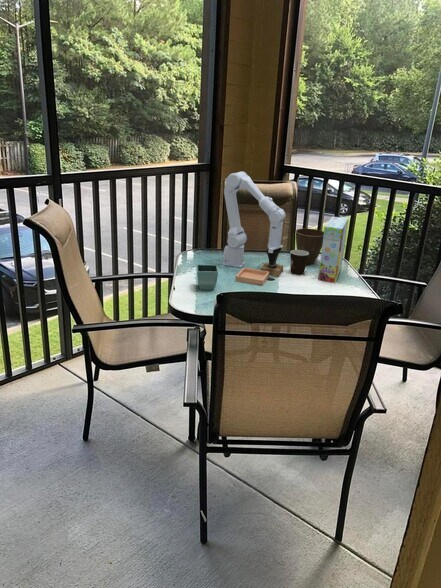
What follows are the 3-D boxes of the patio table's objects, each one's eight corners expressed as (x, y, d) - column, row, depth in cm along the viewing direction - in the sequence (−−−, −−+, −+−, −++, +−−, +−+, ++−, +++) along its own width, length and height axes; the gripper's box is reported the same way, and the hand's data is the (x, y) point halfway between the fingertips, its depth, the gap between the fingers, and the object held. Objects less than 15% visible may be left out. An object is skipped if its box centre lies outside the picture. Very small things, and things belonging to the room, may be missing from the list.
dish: (235, 280, 205) (235, 275, 204) (243, 272, 216) (243, 267, 215) (262, 285, 201) (262, 280, 200) (269, 276, 212) (269, 271, 211)
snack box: (324, 266, 230) (331, 215, 220) (341, 269, 227) (350, 218, 217) (316, 280, 211) (324, 225, 201) (335, 283, 209) (344, 228, 199)
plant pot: (295, 256, 243) (299, 226, 237) (323, 260, 238) (328, 230, 232) (289, 264, 230) (292, 233, 224) (318, 269, 225) (323, 237, 219)
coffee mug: (305, 276, 215) (308, 256, 211) (287, 274, 216) (289, 254, 212) (306, 268, 225) (309, 249, 221) (289, 266, 227) (291, 247, 223)
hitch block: (260, 273, 215) (260, 267, 214) (264, 268, 223) (265, 262, 222) (278, 276, 213) (279, 270, 211) (282, 270, 220) (283, 265, 219)
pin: (267, 272, 217) (269, 254, 213) (269, 270, 219) (271, 252, 216) (274, 273, 216) (275, 255, 213) (275, 271, 219) (277, 253, 215)
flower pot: (195, 283, 199) (196, 264, 196) (215, 284, 200) (217, 264, 197) (196, 291, 191) (197, 271, 188) (217, 291, 192) (218, 271, 189)
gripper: (280, 240, 203) (277, 269, 209) (287, 233, 216) (284, 260, 221) (265, 238, 205) (262, 267, 211) (272, 231, 218) (269, 258, 223)
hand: (272, 263), depth 216 cm, fingers open, 3 cm apart
